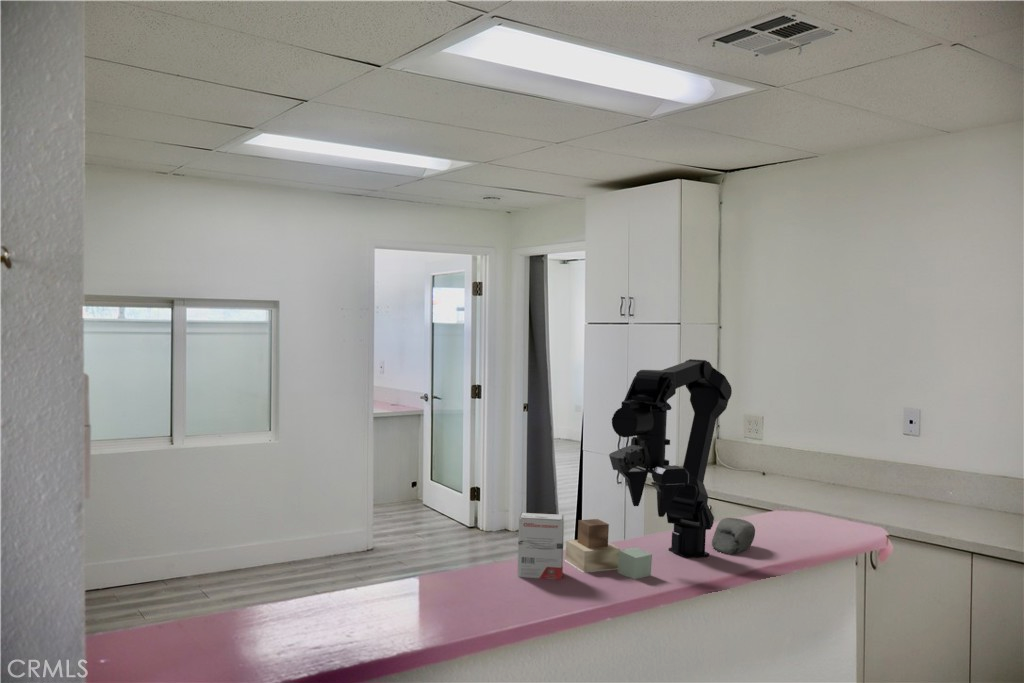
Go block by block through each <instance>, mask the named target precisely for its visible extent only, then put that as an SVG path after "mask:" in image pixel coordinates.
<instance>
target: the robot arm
mask: <svg viewBox="0 0 1024 683" xmlns="http://www.w3.org/2000/svg"><path fill="white" fill-rule="evenodd" d="M684 386H685V388H686V389H687V391H688V392H689V394H690V395H689V402H690V404H691V408H692V411H693V412H694V414H693V419H692V423H691V428H690V432H689V438H688V442H687V447H686V452H685V456H684V461H683V465H682V466H678V465H676V464H675V465H670V460H669V459H666V446H670V445H671V439H667V419H668V418H667V416H668V415H667V414H668V411H671V410H672V406H671V404H670V403H669V402H668V400H669V399H671V398H672V397H674V396H675V395H676V392H677V389H679V388H681V387H684ZM732 392H733V391H732V385H731V384H730V382H729V381H728V379H727V376H725V375H724V373H721V372H720V371H718V370H717V369H716V368H715V367H713V365H712V364H711V362H710V361H707V359H693V358H692V359H687V360H685V361H684V362H682V363H678V364H675V365H673V366H670V367H667V368H664V369H640V370H638V371H637V372H636V374H635V376H634V377H633V378H632V381H631V384H630V386H629V388H628V390H627V392H626V395H625V397H624V400H623V401H621V407H620V408H618V409H616V411H615V412H614V413H613V416H612V418H611V425H612V429H613V431H614V432H615V434H616V435H617V436H619V437H622V438H631V439H630V445H628V446H624V447H622V448H620V449H617V450H615V451H613V452H611V453H609V454H608V457H609V460H610V464H611V468H612V470H614V471H617V473H619V474H620V475H622V477H624V479H625V480H626V483H627V487H628V492H629V495H630V499H631V502H632V506H633V507H639V506H640V503H641V501H642V496H643V493H644V489H645V486H646V483H647V482H646V481H647V478H648V474H651V477H652V480H653V482H650V483H651V485H652V486H653V487H654V489H655V490H656V500H657V501H656V505H657V508H656V509H657V516H658V517H659V518H664V517H665V516H666V520H667V523H668V524H673V531H672V532H671V546H670V547H669V548H668V551H670V552H672V553H674V554H676V555H678V556H680V557H682V558H686V559H690V558H701V557H709V556H710V553H709V552H708V551H706V535H707V534H706V532H707V531H710V530H712V528H713V525H714V521H715V516H714V515H713V513H712V510H711V509H710V506H709V505H708V500H709V495H708V492H707V489H706V486H705V484H704V481H705V475H706V470H707V466H708V461H709V456H710V451H711V446H712V443H713V438H714V432H715V428H716V422H717V420H718V418H719V417H720V416H721V415H722V414H723V413H724V412H725V411H726V409H727V406H728V405H729V404H728V403H729V400H730V399H731V397H732ZM706 530H707V531H706Z"/></svg>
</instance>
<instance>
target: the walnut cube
mask: <svg viewBox="0 0 1024 683" xmlns="http://www.w3.org/2000/svg"><path fill="white" fill-rule="evenodd" d="M577 525H578V526H577V540H578V543H580V544H582V545H583V546H585V547H587V548H597V547H608V542H609V528H610V527H609V526H610V525H609V523H607V522H605V521H603V520H601V519H599V518H592V519H578V524H577Z"/></svg>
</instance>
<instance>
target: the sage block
mask: <svg viewBox="0 0 1024 683" xmlns="http://www.w3.org/2000/svg"><path fill="white" fill-rule="evenodd" d="M652 560H653V554H652V553H650V552H648V551H645V550H643V549H641V548H639V547H636V546H634V547H628V548H626V549H620V551H619V563H618V569H617V573H618V574H620V575H622V576H625V577H628V578H630V579H632V580H637V579H641V578H645V577H646V578H647V577H651V575H652V564H653V563H652Z"/></svg>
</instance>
